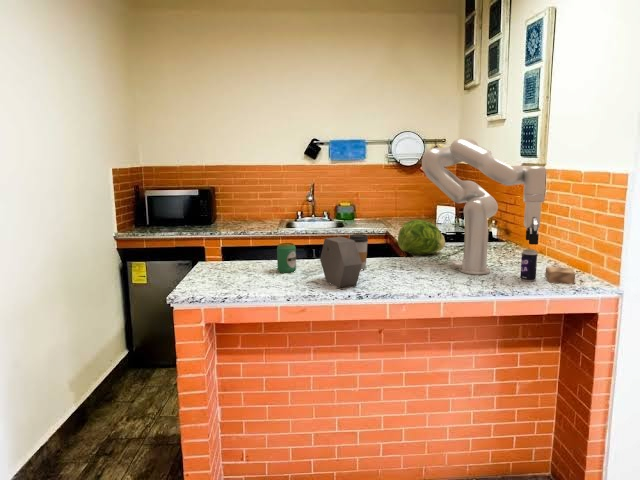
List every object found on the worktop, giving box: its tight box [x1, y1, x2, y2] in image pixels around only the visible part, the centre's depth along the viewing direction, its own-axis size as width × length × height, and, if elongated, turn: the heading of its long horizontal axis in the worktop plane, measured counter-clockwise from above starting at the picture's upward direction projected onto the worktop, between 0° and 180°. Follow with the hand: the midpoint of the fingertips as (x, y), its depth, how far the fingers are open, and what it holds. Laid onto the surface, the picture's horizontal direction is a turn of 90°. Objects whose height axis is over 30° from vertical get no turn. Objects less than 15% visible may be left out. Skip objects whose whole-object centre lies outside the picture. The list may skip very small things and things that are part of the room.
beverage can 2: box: [519, 249, 538, 283], centre depth 193 cm, size 6×6×12 cm
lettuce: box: [397, 219, 446, 256], centre depth 245 cm, size 18×23×19 cm
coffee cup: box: [348, 233, 369, 270], centre depth 213 cm, size 8×8×15 cm
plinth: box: [544, 266, 576, 285], centre depth 193 cm, size 9×9×4 cm
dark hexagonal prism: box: [319, 236, 362, 289], centre depth 190 cm, size 17×8×21 cm
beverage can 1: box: [276, 242, 297, 274], centre depth 210 cm, size 8×8×12 cm
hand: (531, 242), depth 191 cm, fingers open, 9 cm apart
